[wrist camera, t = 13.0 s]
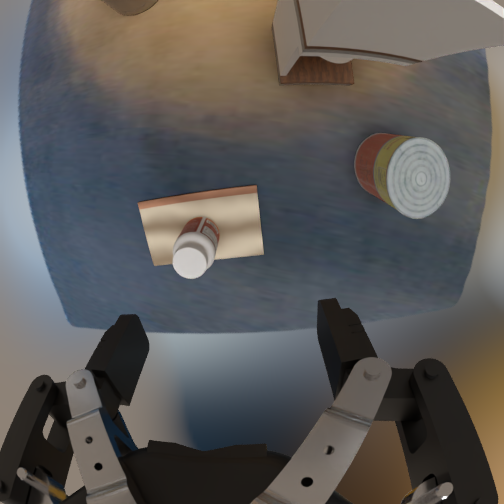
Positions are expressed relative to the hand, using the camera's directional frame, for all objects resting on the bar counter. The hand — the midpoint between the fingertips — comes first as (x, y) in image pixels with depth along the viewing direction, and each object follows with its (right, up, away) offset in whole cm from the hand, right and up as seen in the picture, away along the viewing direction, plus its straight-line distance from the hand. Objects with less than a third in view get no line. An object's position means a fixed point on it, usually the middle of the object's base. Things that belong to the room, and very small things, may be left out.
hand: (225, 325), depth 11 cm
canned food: (+23, +18, +30) cm, 42 cm away
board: (-7, +7, +34) cm, 36 cm away
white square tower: (+10, +34, +22) cm, 42 cm away
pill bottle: (-7, +6, +34) cm, 35 cm away
